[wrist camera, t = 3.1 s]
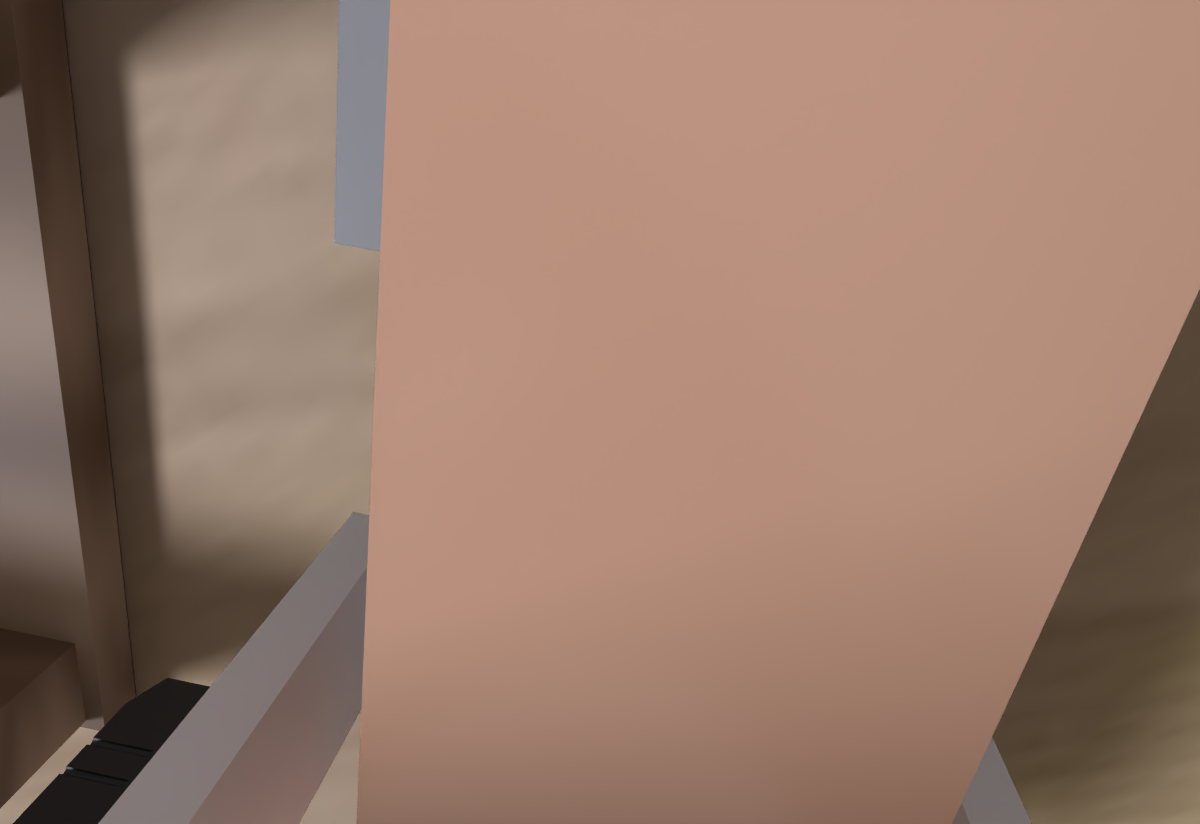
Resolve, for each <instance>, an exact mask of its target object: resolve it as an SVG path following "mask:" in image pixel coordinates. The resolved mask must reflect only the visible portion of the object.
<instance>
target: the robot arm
mask: <svg viewBox="0 0 1200 824" xmlns="http://www.w3.org/2000/svg"><path fill="white" fill-rule="evenodd" d="M368 536H369V515H366V514H361V513H356V512H353V513H352V515H351V516H350V517H349V518H348V520H347V521H346V522H345V523H344V524H343V526H342V527H341V528H340V529H339V530H338V532H337V533H336V534H335V535H334V537H333V538H332V539H331V540H330V541H329V543H328V544H327V545H326V546H325V548H324V549H323V550H322V551H321V552H320V554H319V555H318V556H317V557H316V559H315V560H314V561H313V562H312V563H311V565H310V566H309V567H308V568H307V570H306V571H305V572H304V573H303V574H302V576H301V577H300V578H299V579H298V581H297V582H296V583H295V584H294V585H293V587H292V588H291V589H290V590H289V591H288V593H287V594H286V595H285V596H284V598H283V599H282V600H281V601H280V602H279V604H278V605H277V606H276V607H275V609H274V610H273V611H272V612H271V613H270V615H269V616H268V617H267V618H266V620H265V621H264V622H263V623H262V624H261V626H260V627H259V628H258V629H257V631H256V632H255V633H254V634H253V635H252V637H251V638H250V639H249V640H248V642H247V643H246V644H245V645H244V646H243V648H242V649H241V650H240V651H239V652H238V654H237V655H236V656H235V657H234V659H233V660H232V661H231V662H230V663H229V665H228V666H227V667H226V668H225V670H224V671H223V672H222V673H221V674H220V676H219V677H218V678H217V679H216V681H215V682H214V683H213V684H212V685H211V687H209V686H204V685H199V684H194V683H189V682H185V681H180V680H175V679H170V678H167V679H165V680H163V681H162V682H160V683H159V684H157V685H155V686H154V687H152V688H150V689H149V690H147V691H145V692H144V693H142V694H140V695H139V696H137V697H135V698H134V699H132V700H130V701H129V702H127V703H125V704H124V706H123V707H122V708H121V709H120V710H119V711H118V712H117V713H116V714H115V715H114V716H113V717H112V718H111V719H110V720H109V722H108V723H107V724H106V725H105V726H104V727H103V728H102V729H101V730H100V731H99V732H98V733H97V734H96V735H95V736H94V738H93V741H92V743H91V745H86V746H85V747H84V748H83V749H82V750H81V751H80V753H79V754H78V755H77V756H76V757H75V758H74V759H73V760H72V761H71V762H70V763H69V764H68V765H67V766H66V771H65V772H64V774H59V775H58V776H57V777H56V778H55V779H54V780H53V781H52V782H51V783H50V785H49V786H48V787H47V788H46V789H45V790H44V791H43V792H42V793H41V794H40V795H39V796H38V797H37V798H36V800H35V801H34V802H33V803H32V804H31V805H30V806H29V807H28V808H27V809H26V810H25V811H24V812H23V813H22V814H21V816H20V817H19V818H18V819H17V820H16V821H15V822H14V823H13V824H299V822H300V821H301V819H302V817H303V815H304V813H305V811H306V810H307V808H308V806H309V804H310V802H311V800H312V799H313V797H314V795H315V793H316V791H317V789H318V788H319V786H320V784H321V782H322V780H323V778H324V777H325V775H326V773H327V771H328V769H329V767H330V766H331V764H332V762H333V760H334V758H335V756H336V755H337V753H338V751H339V749H340V747H341V745H342V744H343V742H344V740H345V738H346V736H347V735H348V733H349V731H350V729H351V727H352V725H353V724H354V722H355V720H356V718H357V716H358V714H359V713H360V711H361V707H362V683H363V658H364V634H365V609H366V585H367V561H368ZM952 824H1032V823H1031V821H1030V819H1029V817H1028V815H1027V812H1026V810H1025V808H1024V806H1023V804H1022V801H1021V799H1020V797H1019V795H1018V793H1017V790H1016V788H1015V786H1014V784H1013V782H1012V779H1011V777H1010V775H1009V773H1008V771H1007V768H1006V766H1005V764H1004V762H1003V760H1002V757H1001V755H1000V753H999V751H998V749H997V746H996V744H995V742H994V740H993V738H991V740H990V742H989V745H988V747H987V749H986V751H985V753H984V755H983V758H982V760H981V762H980V764H979V766H978V768H977V771H976V773H975V775H974V777H973V779H972V781H971V783H970V786H969V788H968V790H967V792H966V794H965V796H964V799H963V801H962V803H961V805H960V807H959V809H958V811H957V814H956V816H955V818H954V820H953V822H952Z"/></svg>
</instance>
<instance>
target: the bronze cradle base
mask: <svg viewBox="0 0 1200 824" xmlns="http://www.w3.org/2000/svg"><path fill="white" fill-rule="evenodd" d="M135 697H136V694H135V685H134V676H133V666H132V657H131V647H130V638H129V629H128V619H127V610H126V600H125V591H124V582H123V572H122V563H121V554H120V544H119V535H118V525H117V516H116V507H115V497H114V488H113V478H112V469H111V460H110V450H109V441H108V431H107V422H106V413H105V403H104V394H103V385H102V375H101V366H100V356H99V347H98V338H97V328H96V319H95V309H94V300H93V291H92V281H91V272H90V263H89V253H88V244H87V234H86V225H85V216H84V206H83V197H82V187H81V178H80V169H79V159H78V150H77V141H76V131H75V122H74V112H73V103H72V94H71V84H70V75H69V65H68V56H67V47H66V37H65V28H64V18H63V9H62V0H0V808H1V807H2V806H3V805H4V804H5V803H6V802H7V801H8V800H9V799H10V798H11V797H12V796H13V795H14V794H15V793H16V792H17V791H18V790H19V789H20V788H21V787H22V786H23V785H24V784H25V782H26V781H27V780H28V779H29V778H30V777H31V776H32V775H33V774H34V773H35V772H36V771H37V770H38V769H39V768H40V767H41V766H42V765H43V764H44V763H45V762H46V761H47V760H48V759H49V758H50V757H51V756H52V755H53V754H54V753H55V752H56V751H57V750H58V749H59V748H60V747H61V746H62V744H63V743H64V742H65V741H66V740H67V739H68V738H69V737H70V736H71V735H72V734H73V733H74V732H75V731H76V730H77V729H78V728H79V727H85V728H90V729H94V730H99V731H100V730H101V729H102V728H103V727H104V726H105V725H106V724H107V723H108V722H109V720H110V719H111V718H112V717H113V716H114V715H115V714H116V713H117V712H118V711H119V710H120V709H121V708H122V707H123V706H124V704H125V703H127V702H129V701H130V700H132V699H134V698H135Z"/></svg>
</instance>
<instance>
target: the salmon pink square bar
mask: <svg viewBox="0 0 1200 824" xmlns="http://www.w3.org/2000/svg"><path fill="white" fill-rule="evenodd" d="M1199 290H1200V0H390V22H389V47H388V71H387V96H386V120H385V145H384V169H383V194H382V218H381V243H380V267H379V292H378V316H377V340H376V365H375V389H374V414H373V438H372V463H371V487H370V512H369V536H368V561H367V585H366V609H365V634H364V658H363V683H362V707H361V732H360V756H359V781H358V805H357V824H952V822H953V820H954V818H955V816H956V814H957V811H958V809H959V807H960V805H961V803H962V801H963V799H964V796H965V794H966V792H967V790H968V788H969V786H970V783H971V781H972V779H973V777H974V775H975V773H976V771H977V768H978V766H979V764H980V762H981V760H982V758H983V755H984V753H985V751H986V749H987V747H988V745H989V742H990V740H991V738H992V736H993V734H994V732H995V730H996V727H997V725H998V723H999V721H1000V719H1001V717H1002V714H1003V712H1004V710H1005V708H1006V706H1007V704H1008V702H1009V699H1010V697H1011V695H1012V693H1013V691H1014V689H1015V686H1016V684H1017V682H1018V680H1019V678H1020V676H1021V673H1022V671H1023V669H1024V667H1025V665H1026V663H1027V661H1028V658H1029V656H1030V654H1031V652H1032V650H1033V648H1034V645H1035V643H1036V641H1037V639H1038V637H1039V635H1040V633H1041V630H1042V628H1043V626H1044V624H1045V622H1046V620H1047V617H1048V615H1049V613H1050V611H1051V609H1052V607H1053V604H1054V602H1055V600H1056V598H1057V596H1058V594H1059V592H1060V589H1061V587H1062V585H1063V583H1064V581H1065V579H1066V576H1067V574H1068V572H1069V570H1070V568H1071V566H1072V564H1073V561H1074V559H1075V557H1076V555H1077V553H1078V551H1079V548H1080V546H1081V544H1082V542H1083V540H1084V538H1085V535H1086V533H1087V531H1088V529H1089V527H1090V525H1091V523H1092V520H1093V518H1094V516H1095V514H1096V512H1097V510H1098V507H1099V505H1100V503H1101V501H1102V499H1103V497H1104V495H1105V492H1106V490H1107V488H1108V486H1109V484H1110V482H1111V479H1112V477H1113V475H1114V473H1115V471H1116V469H1117V466H1118V464H1119V462H1120V460H1121V458H1122V456H1123V454H1124V451H1125V449H1126V447H1127V445H1128V443H1129V441H1130V438H1131V436H1132V434H1133V432H1134V430H1135V428H1136V426H1137V423H1138V421H1139V419H1140V417H1141V415H1142V413H1143V410H1144V408H1145V406H1146V404H1147V402H1148V400H1149V397H1150V395H1151V393H1152V391H1153V389H1154V387H1155V385H1156V382H1157V380H1158V378H1159V376H1160V374H1161V372H1162V369H1163V367H1164V365H1165V363H1166V361H1167V359H1168V357H1169V354H1170V352H1171V350H1172V348H1173V346H1174V344H1175V341H1176V339H1177V337H1178V335H1179V333H1180V331H1181V328H1182V326H1183V324H1184V322H1185V320H1186V318H1187V316H1188V313H1189V311H1190V309H1191V307H1192V305H1193V303H1194V300H1195V298H1196V296H1197V294H1198V292H1199Z"/></svg>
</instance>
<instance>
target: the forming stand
mask: <svg viewBox="0 0 1200 824" xmlns="http://www.w3.org/2000/svg"><path fill="white" fill-rule="evenodd" d="M389 22H390V0H339V23H338V79H337V135H336V191H335V243H337V244H342V245H348V246H353V247H359V248H364V249H370V250H376V251H380V243H381V218H382V194H383V169H384V145H385V120H386V96H387V71H388V47H389Z"/></svg>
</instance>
